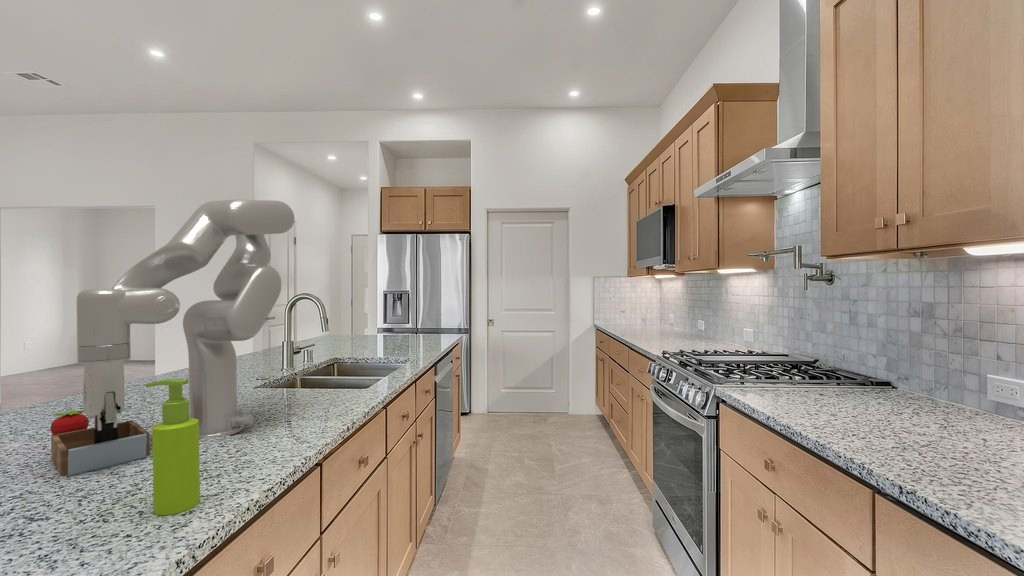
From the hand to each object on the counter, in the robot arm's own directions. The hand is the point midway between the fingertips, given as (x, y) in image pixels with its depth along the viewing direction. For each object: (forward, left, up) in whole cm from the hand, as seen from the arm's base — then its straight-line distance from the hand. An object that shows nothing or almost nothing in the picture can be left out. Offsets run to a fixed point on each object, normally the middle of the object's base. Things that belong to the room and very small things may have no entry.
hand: (106, 449), depth 85 cm
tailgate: (-1, +1, -3) cm, 3 cm away
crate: (+5, -5, -4) cm, 8 cm away
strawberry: (+17, -13, -4) cm, 21 cm away
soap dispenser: (-22, +17, -4) cm, 29 cm away
